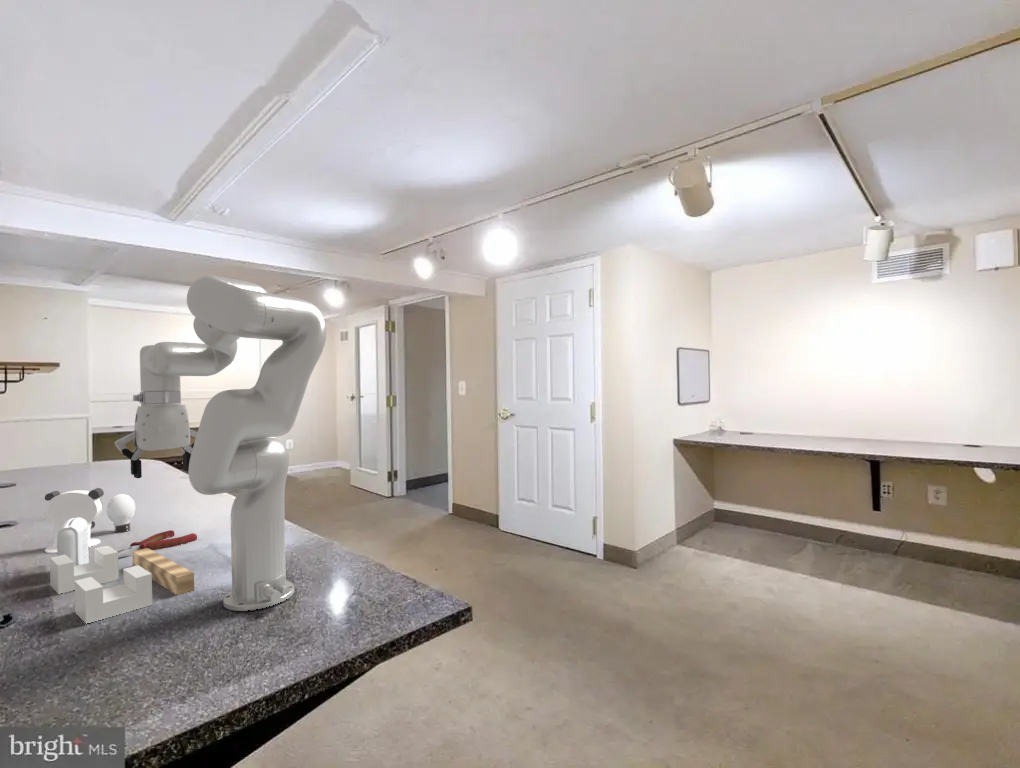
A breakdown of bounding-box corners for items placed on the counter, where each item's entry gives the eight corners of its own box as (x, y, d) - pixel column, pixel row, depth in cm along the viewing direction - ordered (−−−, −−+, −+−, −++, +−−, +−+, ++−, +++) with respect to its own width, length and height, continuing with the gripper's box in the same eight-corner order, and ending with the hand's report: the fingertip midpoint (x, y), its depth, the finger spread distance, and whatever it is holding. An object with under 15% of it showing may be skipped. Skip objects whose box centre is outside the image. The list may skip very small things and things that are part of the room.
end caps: (152, 604, 97) (151, 573, 97) (85, 624, 89) (85, 591, 89) (108, 571, 116) (107, 545, 116) (50, 585, 108) (49, 557, 108)
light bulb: (140, 529, 151) (139, 492, 151) (113, 535, 145) (112, 497, 145) (130, 526, 154) (129, 490, 154) (103, 532, 149) (102, 495, 149)
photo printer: (67, 567, 119) (66, 515, 119) (91, 564, 121) (89, 512, 121) (55, 582, 110) (53, 525, 110) (80, 578, 112) (79, 522, 112)
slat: (194, 592, 104) (193, 572, 104) (177, 597, 101) (177, 577, 101) (147, 564, 121) (147, 547, 121) (132, 568, 119) (132, 551, 119)
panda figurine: (110, 537, 143) (108, 484, 143) (93, 549, 133) (92, 492, 133) (57, 543, 139) (55, 488, 139) (35, 555, 129) (34, 497, 129)
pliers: (90, 560, 125) (90, 550, 125) (171, 537, 144) (171, 528, 144) (119, 566, 121) (119, 555, 121) (199, 541, 139) (199, 532, 139)
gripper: (118, 400, 106) (120, 482, 106) (209, 397, 119) (211, 470, 119) (109, 401, 111) (111, 478, 111) (197, 398, 124) (199, 467, 124)
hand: (163, 474), depth 115 cm, fingers open, 9 cm apart
